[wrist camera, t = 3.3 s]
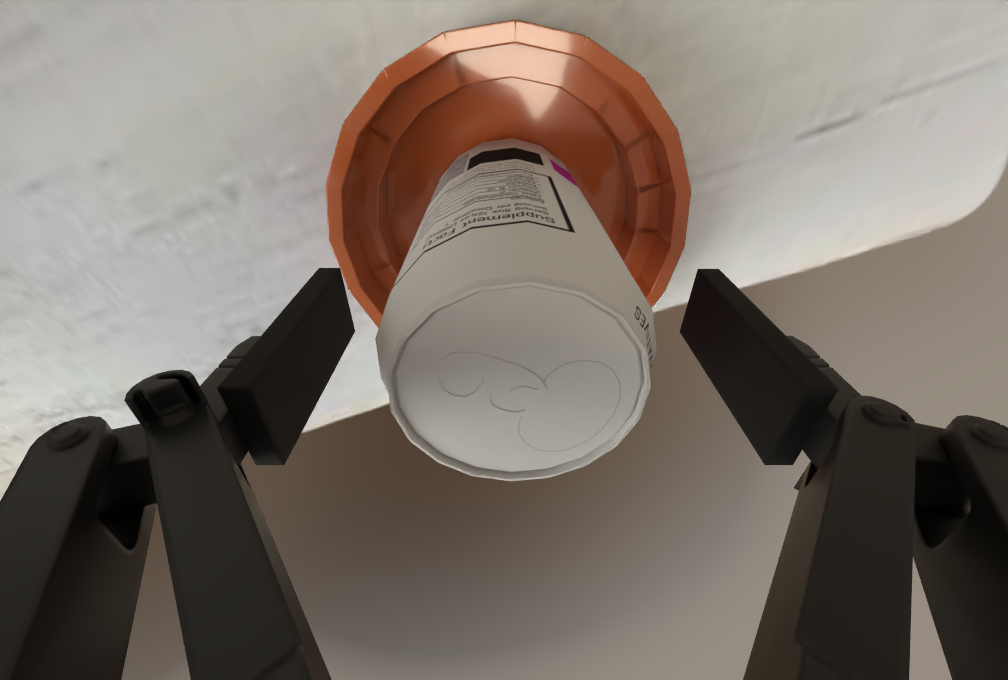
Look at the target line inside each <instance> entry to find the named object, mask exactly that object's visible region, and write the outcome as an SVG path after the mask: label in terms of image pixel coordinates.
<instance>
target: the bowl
mask: <svg viewBox="0 0 1008 680" xmlns="http://www.w3.org/2000/svg"><path fill="white" fill-rule="evenodd" d="M510 138H514V139H518V140H522V141H525V142H529V143H533V144H537V145H541V146H542V147H543V148H545V149H546V150H547V151H549V152H550V153H552V154H553V155H554V156H556V157H557V158H558V159H560V160H561V161H562V162H563V163H564V164H565V166H566V167H567V169H568V171H569V172H570V174H571V175H572V177H573V179H574V180H575V182H576V183H577V185H578V187H579V188H580V190H581V192H582V193H583V195H584V197H585V198H586V200H587V202H588V203H589V205H590V207H591V208H592V210H593V212H594V213H595V215H596V216H597V218H598V220H599V221H600V223H601V225H602V226H603V228H604V230H605V231H606V233H607V235H608V236H609V238H610V240H611V241H612V243H613V245H614V246H615V248H616V250H617V251H618V253H619V255H620V256H621V258H622V260H623V261H624V263H625V265H626V266H627V268H628V270H629V271H630V273H631V275H632V276H633V278H634V280H635V281H636V283H637V285H638V286H639V288H640V290H641V291H642V293H643V295H644V296H645V298H646V300H647V301H648V303H649V305H650V306H651V308H652V307H653V305H654V304H655V303H656V302H657V301H658V299H659V298H660V297H661V296H662V294H663V293H664V291H665V289H666V287H667V285H668V282H669V280H670V278H671V276H672V273H673V271H674V269H675V267H676V265H677V262H678V260H679V258H680V256H681V253H682V251H683V249H684V246H685V239H686V230H687V222H688V213H689V205H690V196H691V187H690V182H689V178H688V173H687V168H686V164H685V159H684V155H683V150H682V145H681V141H680V136H679V132H678V129H677V128H676V126H675V125H674V123H673V122H672V120H671V119H670V117H669V115H668V114H667V112H666V111H665V109H664V108H663V106H662V105H661V103H660V102H659V100H658V98H657V97H656V95H655V94H654V92H653V91H652V89H651V88H650V86H649V84H648V83H647V81H646V80H645V78H644V77H642V75H641V74H639V73H638V72H637V71H635V70H634V69H632V68H631V67H630V66H628V65H627V64H625V63H624V62H623V61H621V60H620V59H618V58H617V57H616V56H614V55H613V54H611V53H610V52H609V51H607V50H606V49H604V48H603V47H602V46H600V45H599V44H597V43H596V42H594V41H593V40H592V39H590V38H589V37H586V36H585V35H582V34H577V33H573V32H569V31H564V30H560V29H556V28H551V27H547V26H543V25H538V24H534V23H530V22H525V21H521V20H516V21H515V20H508V21H503V22H497V23H491V24H485V25H479V26H473V27H467V28H461V29H455V30H450V31H445V32H442V33H440V34H439V35H437V36H435V37H434V38H432V39H431V40H429V41H427V42H426V43H424V44H423V45H421V46H419V47H418V48H416V49H415V50H413V51H411V52H410V53H408V54H407V55H405V56H403V57H402V58H400V59H398V60H397V61H395V62H394V63H392V64H390V65H389V66H387V67H386V68H384V69H383V70H382V71H381V73H380V74H379V75H378V77H377V78H376V79H375V81H374V82H373V83H372V85H371V86H370V87H369V89H368V90H367V91H366V93H365V94H364V95H363V97H362V98H361V100H360V101H359V102H358V104H357V105H356V106H355V108H354V109H353V110H352V112H351V113H350V114H349V116H348V117H347V118H346V120H345V121H344V124H343V125H342V128H341V132H340V135H339V139H338V142H337V146H336V149H335V153H334V156H333V160H332V163H331V167H330V170H329V174H328V177H327V181H326V197H327V214H328V230H329V241H330V244H331V246H332V249H333V251H334V254H335V257H336V259H337V262H338V264H339V267H340V269H341V272H342V274H343V277H344V279H345V282H346V285H347V287H348V289H349V290H350V292H351V294H352V295H353V296H354V297H355V299H356V300H357V301H358V302H359V304H360V305H361V306H362V308H363V309H364V310H365V311H366V313H367V314H368V315H369V316H370V318H371V319H372V320H373V322H374V323H375V324H376V325H377V327H378V328H379V326H380V323H381V320H382V316H383V313H384V310H385V307H386V304H387V300H388V297H389V295H390V293H391V291H392V288H393V286H394V284H395V281H396V279H397V277H398V274H399V272H400V270H401V268H402V265H403V263H404V261H405V258H406V256H407V254H408V252H409V249H410V247H411V245H412V242H413V240H414V238H415V236H416V233H417V231H418V229H419V226H420V224H421V222H422V220H423V217H424V215H425V213H426V210H427V208H428V206H429V204H430V201H431V199H432V197H433V194H434V192H435V190H436V188H437V185H438V183H439V181H440V178H441V177H442V176H443V174H444V173H445V172H446V171H447V170H448V168H449V167H450V166H451V165H452V163H453V162H454V161H455V160H456V159H457V157H458V156H460V155H461V154H463V153H465V152H467V151H468V150H470V149H472V148H474V147H476V146H477V145H479V144H481V143H483V142H487V141H495V140H502V139H510Z"/></svg>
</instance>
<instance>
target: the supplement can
mask: <svg viewBox="0 0 1008 680" xmlns="http://www.w3.org/2000/svg"><path fill="white" fill-rule="evenodd" d="M376 345H377V352H378V359H379V366H380V373H381V379H382V381H383V383H384V385H385V387H386V389H387V391H388V394H389V401H390V409H391V412H392V414H393V416H394V417H395V419H396V420H397V422H398V424H399V425H400V426H401V428H402V430H403V431H404V433H405V435H406V436H407V438H408V439H409V441H411V442H412V443H413V444H414V445H416V446H417V447H418V448H420V449H421V450H422V451H424V452H425V453H426V454H428V455H429V456H430V457H431V458H433V459H434V460H435V461H437V462H438V463H441V464H443V465H446V466H448V467H451V468H453V469H456V470H458V471H461V472H464V473H466V474H469V475H471V476H477V477H484V478H491V479H498V480H507V481H517V480H528V479H539V478H549V477H552V476H556V475H559V474H562V473H565V472H568V471H571V470H574V469H577V468H580V467H584V466H586V465H588V464H589V463H591V462H592V461H594V460H595V459H597V458H599V457H600V456H602V455H603V454H605V453H607V452H608V451H610V450H611V449H613V448H615V447H616V446H617V445H618V444H619V443H620V442H621V440H622V439H623V438H624V437H625V436H626V435H627V433H628V432H629V431H630V430H631V429H632V427H633V426H634V425H635V424H636V423H637V422H638V421H639V419H640V417H641V414H642V411H643V408H644V405H645V402H646V399H647V396H648V394H649V391H650V388H651V383H650V375H649V372H650V369H651V366H652V363H653V360H654V357H655V354H656V351H657V347H656V339H655V329H654V321H653V311H652V308H651V306H650V305H649V303H648V301H647V300H646V298H645V296H644V295H643V293H642V291H641V290H640V288H639V286H638V285H637V283H636V281H635V280H634V278H633V276H632V275H631V273H630V271H629V270H628V268H627V266H626V265H625V263H624V261H623V260H622V258H621V256H620V255H619V253H618V251H617V250H616V248H615V246H614V245H613V243H612V241H611V240H610V238H609V236H608V235H607V233H606V231H605V230H604V228H603V226H602V225H601V223H600V221H599V220H598V218H597V216H596V215H595V213H594V212H593V210H592V208H591V207H590V205H589V203H588V202H587V200H586V198H585V197H584V195H583V193H582V192H581V190H580V188H579V187H578V185H577V183H576V182H575V180H574V179H573V177H572V175H571V174H570V172H569V171H568V169H567V167H566V166H565V164H564V163H563V162H562V161H561V160H560V159H558V158H557V157H556V156H554V155H553V154H552V153H550V152H549V151H547V150H546V149H545V148H543V147H542V146H541V145H537V144H533V143H529V142H525V141H522V140H518V139H514V138H510V139H502V140H495V141H487V142H483V143H481V144H479V145H477V146H476V147H474V148H472V149H470V150H468V151H467V152H465V153H463V154H461V155H460V156H458V157H457V159H456V160H455V161H454V162H453V163H452V165H451V166H450V167H449V168H448V170H447V171H446V172H445V173H444V174H443V176H442V177H441V178H440V181H439V183H438V185H437V188H436V190H435V192H434V194H433V197H432V199H431V201H430V204H429V206H428V208H427V210H426V213H425V215H424V217H423V220H422V222H421V224H420V226H419V229H418V231H417V233H416V236H415V238H414V240H413V242H412V245H411V247H410V249H409V252H408V254H407V256H406V258H405V261H404V263H403V265H402V268H401V270H400V272H399V274H398V277H397V279H396V281H395V284H394V286H393V288H392V291H391V293H390V295H389V297H388V300H387V304H386V307H385V310H384V313H383V316H382V320H381V323H380V326H379V329H378V333H377V336H376Z"/></svg>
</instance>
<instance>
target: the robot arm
mask: <svg viewBox="0 0 1008 680" xmlns="http://www.w3.org/2000/svg"><path fill="white" fill-rule="evenodd" d="M354 332H355V329H354V325H353V320H352V316H351V312H350V308H349V304H348V299H347V295H346V291H345V287H344V282H343V278H342V274H341V270H340V268H319V269H318V270H317V271H316V272H315V273H314V275H313V276H312V277H311V278H310V279H309V281H308V282H307V283H306V284H305V285H304V286H303V288H302V289H301V290H300V291H299V292H298V293H297V295H296V296H295V297H294V298H293V299H292V300H291V302H290V303H289V304H288V305H287V306H286V307H285V309H284V310H283V311H282V312H281V313H280V315H279V316H278V317H277V318H276V319H275V320H274V322H273V323H272V324H271V325H270V326H269V327H268V329H267V330H266V331H265V332H264V333H263V334H262V336H252V337H250V338H248V339H247V340H245V341H244V342H242V343H240V344H239V345H237V346H236V347H235V348H234V349H233V350H232V351H231V353H230V354H229V355H228V356H227V359H224V360H223V361H222V362H221V364H220V365H219V368H216V369H215V370H214V371H213V372H212V373H211V375H210V376H209V377H208V378H207V379H206V380H205V381H204V382H203V383H202V384H201V386H199V384H198V382H197V381H196V379H195V377H194V375H192V374H191V373H190V372H189V371H184V370H172V371H166V372H162V373H158V374H155V375H153V376H151V377H148V378H146V379H144V380H142V381H141V382H139V383H138V384H136V385H135V386H133V387H132V388H131V389H130V390H129V392H128V393H127V394H126V397H125V402H126V403H127V405H128V406H129V408H130V409H131V411H132V412H133V414H134V415H135V417H136V418H137V419H138V421H139V422H140V424H137V425H132V426H127V427H122V428H117V429H113V430H112V429H111V428H110V427H109V425H108V424H107V423H106V421H105V420H103V419H102V418H101V417H94V416H88V417H82V418H77V419H74V420H71V421H67V422H64V423H62V424H59V425H58V426H55V427H53V428H52V429H50V430H49V431H47V432H46V433H45V434H43V435H42V436H40V437H39V438H38V439H37V440H36V441H35V442H34V443H33V445H32V446H31V447H30V449H29V450H28V452H27V454H26V456H25V458H24V459H23V461H22V463H21V465H20V467H19V468H18V470H17V472H16V474H15V476H14V477H13V479H12V481H11V483H10V485H9V487H8V488H7V490H6V492H5V494H4V496H3V497H2V499H1V501H0V680H121V678H122V673H123V668H124V663H125V658H126V653H127V648H128V643H129V638H130V633H131V628H132V624H133V618H134V614H135V609H136V604H137V599H138V594H139V589H140V584H141V579H142V574H143V570H144V564H145V559H146V555H147V550H148V545H149V540H150V535H151V530H152V525H153V520H154V515H155V511H156V506H157V504H158V510H159V515H160V520H161V525H162V531H163V536H164V541H165V546H166V552H167V557H168V562H169V567H170V572H171V578H172V583H173V588H174V593H175V599H176V604H177V609H178V614H179V620H180V625H181V630H182V635H183V640H184V646H185V651H186V656H187V661H188V666H189V672H190V677H191V680H331V677H330V675H329V672H328V670H327V668H326V665H325V663H324V660H323V658H322V656H321V653H320V651H319V648H318V646H317V644H316V641H315V639H314V636H313V634H312V632H311V629H310V627H309V624H308V622H307V619H306V617H305V615H304V612H303V610H302V607H301V605H300V602H299V600H298V598H297V595H296V593H295V591H294V588H293V586H292V583H291V581H290V578H289V576H288V574H287V571H286V569H285V567H284V564H283V561H282V559H281V557H280V554H279V552H278V549H277V547H276V545H275V542H274V540H273V537H272V535H271V533H270V530H269V528H268V525H267V523H266V521H265V518H264V516H263V513H262V511H261V509H260V506H259V504H258V501H257V499H256V496H255V494H254V492H253V489H252V487H251V484H250V482H249V480H248V477H247V475H246V473H245V470H244V468H243V466H242V464H241V461H242V460H243V458H244V457H245V455H246V454H247V452H248V451H249V453H250V455H251V456H252V458H253V460H254V462H255V464H256V465H284V464H285V462H286V460H287V459H288V457H289V455H290V453H291V451H292V449H293V447H294V445H295V444H296V442H297V440H298V438H299V436H300V434H301V432H302V430H303V428H304V427H305V425H306V423H307V421H308V419H309V417H310V415H311V413H312V411H313V410H314V408H315V406H316V404H317V402H318V400H319V398H320V396H321V394H322V393H323V391H324V389H325V387H326V385H327V383H328V381H329V379H330V377H331V376H332V374H333V372H334V370H335V368H336V366H337V364H338V362H339V360H340V359H341V357H342V355H343V353H344V351H345V349H346V347H347V345H348V343H349V342H350V340H351V338H352V336H353V334H354ZM680 333H681V334H682V336H683V338H684V339H685V341H686V342H687V344H688V345H689V347H690V349H691V350H692V352H693V353H694V355H695V356H696V358H697V359H698V361H699V363H700V364H701V366H702V367H703V369H704V370H705V372H706V374H707V375H708V377H709V378H710V380H711V381H712V383H713V385H714V386H715V388H716V389H717V391H718V392H719V394H720V396H721V397H722V399H723V400H724V402H725V403H726V405H727V406H728V408H729V410H730V411H731V413H732V414H733V416H734V417H735V419H736V420H737V422H738V424H739V425H740V427H741V428H742V430H743V432H744V433H745V435H746V436H747V437H748V439H749V441H750V442H751V444H752V445H753V447H754V449H755V450H756V452H757V453H758V455H759V456H760V458H761V459H762V461H763V463H764V464H765V465H793V464H794V462H795V460H796V459H797V457H798V455H799V454H800V452H801V450H803V451H804V452H805V454H806V455H807V456H808V457H809V459H810V460H811V462H810V463H809V465H808V466H807V468H806V470H805V471H804V473H803V474H802V476H801V477H800V479H799V481H798V482H797V484H796V485H795V487H794V488H795V489H797V490H799V493H798V496H797V500H796V503H795V507H794V509H793V513H792V516H791V520H790V523H789V526H788V530H787V533H786V537H785V540H784V543H783V547H782V550H781V553H780V557H779V560H778V564H777V567H776V571H775V574H774V577H773V581H772V584H771V587H770V590H769V594H768V597H767V601H766V604H765V607H764V611H763V614H762V617H761V621H760V624H759V628H758V631H757V635H756V638H755V641H754V645H753V648H752V651H751V655H750V658H749V662H748V665H747V668H746V672H745V675H744V678H743V680H909V662H910V660H909V659H910V628H911V626H910V625H911V596H912V595H911V594H912V562H913V558H914V561H915V564H916V567H917V570H918V573H919V576H920V579H921V583H922V586H923V589H924V592H925V595H926V598H927V601H928V604H929V608H930V611H931V614H932V617H933V620H934V623H935V627H936V630H937V633H938V636H939V639H940V642H941V645H942V649H943V652H944V655H945V658H946V661H947V664H948V667H949V671H950V673H951V677H952V680H1008V428H1007V427H1005V426H1004V425H1000V424H999V423H997V422H994V421H990V420H987V419H983V418H980V417H975V416H969V415H964V416H957V417H956V418H955V419H954V420H953V421H952V422H951V423H950V424H949V425H948V426H947V428H946V429H942V428H938V427H932V426H928V425H923V424H918V423H915V421H914V419H913V418H912V417H911V416H910V415H909V414H908V413H907V412H905V411H904V410H902V409H901V408H899V407H898V406H896V405H894V404H892V403H890V402H887V401H885V400H882V399H879V398H875V397H871V396H861V395H860V394H859V393H858V392H857V391H856V390H855V389H854V388H853V387H852V386H851V385H850V384H848V383H847V382H846V381H845V380H844V379H843V378H842V377H841V376H840V375H839V374H838V373H837V372H836V371H835V370H834V369H833V368H830V367H829V364H828V363H826V362H825V361H824V360H823V359H820V356H819V355H818V354H817V353H816V352H815V351H814V350H813V349H812V348H811V347H810V346H809V345H807V344H805V343H803V342H802V341H800V340H798V339H796V338H795V337H793V336H786V335H784V333H783V332H781V331H780V330H779V329H778V328H777V327H776V326H775V325H774V324H773V323H772V322H771V321H770V320H769V319H768V318H767V317H766V316H765V315H764V314H763V313H762V312H761V311H760V310H759V309H758V308H757V307H756V306H755V305H754V304H753V303H752V302H751V301H750V300H749V299H748V298H747V297H746V296H745V295H744V294H743V293H742V292H741V291H740V290H739V289H738V288H737V287H736V286H735V285H734V284H733V283H732V282H731V281H730V280H729V279H728V278H727V277H726V276H725V275H724V274H723V273H722V272H721V271H720V270H719V269H698V271H697V274H696V277H695V281H694V284H693V288H692V291H691V295H690V298H689V301H688V305H687V308H686V312H685V315H684V319H683V322H682V326H681V329H680Z"/></svg>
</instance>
